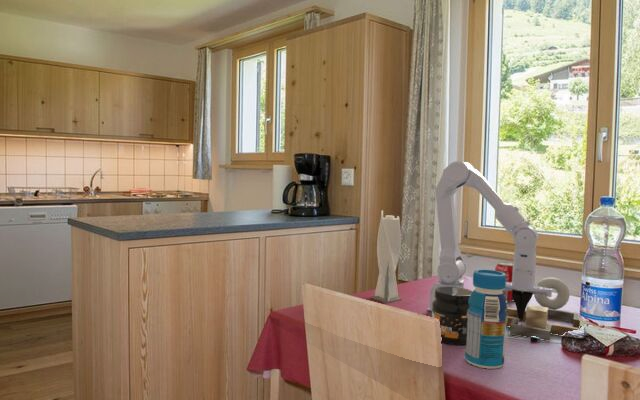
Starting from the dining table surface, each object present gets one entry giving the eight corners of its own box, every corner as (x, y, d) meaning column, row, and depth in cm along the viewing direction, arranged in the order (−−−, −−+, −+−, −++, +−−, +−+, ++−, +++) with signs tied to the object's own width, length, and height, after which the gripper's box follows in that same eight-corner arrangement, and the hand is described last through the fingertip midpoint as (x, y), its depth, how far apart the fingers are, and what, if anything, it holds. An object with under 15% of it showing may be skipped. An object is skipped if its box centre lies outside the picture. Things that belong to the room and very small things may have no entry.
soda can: (512, 297, 167) (515, 261, 166) (518, 303, 160) (521, 266, 159) (490, 296, 168) (493, 260, 167) (496, 301, 161) (498, 264, 160)
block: (525, 326, 136) (526, 308, 136) (527, 322, 141) (528, 304, 140) (545, 330, 134) (546, 311, 133) (546, 325, 138) (548, 307, 138)
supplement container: (422, 337, 125) (424, 290, 124) (443, 328, 132) (446, 283, 131) (460, 349, 118) (463, 299, 117) (481, 339, 125) (484, 291, 124)
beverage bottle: (456, 361, 110) (462, 271, 109) (475, 352, 116) (481, 266, 115) (493, 373, 104) (499, 278, 103) (511, 363, 110) (517, 273, 109)
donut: (533, 308, 154) (535, 276, 154) (532, 306, 158) (534, 274, 157) (569, 313, 151) (571, 280, 150) (567, 310, 154) (569, 278, 154)
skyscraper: (367, 296, 161) (371, 209, 159) (384, 293, 166) (388, 209, 164) (386, 303, 155) (391, 212, 153) (404, 299, 160) (408, 211, 158)
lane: (488, 330, 132) (489, 317, 132) (501, 309, 152) (502, 298, 152) (583, 347, 122) (584, 333, 121) (584, 322, 142) (585, 310, 142)
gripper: (494, 268, 138) (491, 317, 139) (552, 276, 131) (548, 326, 132) (498, 264, 144) (495, 311, 145) (553, 271, 137) (550, 320, 138)
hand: (520, 318), depth 139 cm, fingers closed
